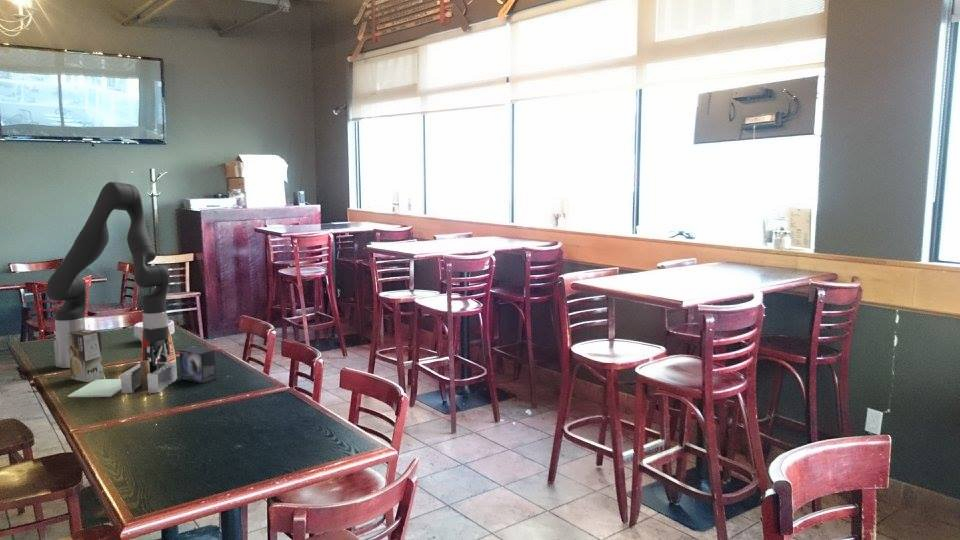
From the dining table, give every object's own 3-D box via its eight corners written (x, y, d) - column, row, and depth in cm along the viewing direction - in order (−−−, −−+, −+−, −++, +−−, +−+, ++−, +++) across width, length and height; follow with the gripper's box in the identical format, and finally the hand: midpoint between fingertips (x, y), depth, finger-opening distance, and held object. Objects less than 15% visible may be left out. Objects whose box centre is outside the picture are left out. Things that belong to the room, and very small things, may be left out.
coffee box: (105, 377, 238) (101, 331, 236) (86, 382, 232) (83, 335, 230) (88, 374, 242) (84, 328, 240) (69, 379, 236) (66, 332, 234)
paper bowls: (126, 344, 287) (124, 325, 286) (153, 336, 301) (152, 318, 300) (156, 346, 282) (155, 327, 281) (183, 338, 297) (182, 320, 296)
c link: (142, 379, 235) (141, 362, 235) (177, 379, 236) (176, 361, 235) (121, 393, 221) (120, 374, 220) (158, 392, 221) (157, 374, 220)
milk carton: (176, 361, 260) (173, 307, 257) (162, 367, 251) (159, 312, 248) (152, 360, 261) (149, 307, 258) (138, 367, 251) (134, 312, 249)
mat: (67, 397, 216) (67, 395, 216) (96, 380, 234) (96, 379, 234) (110, 396, 217) (110, 395, 217) (136, 380, 235) (136, 378, 235)
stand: (140, 389, 224) (138, 362, 223) (144, 387, 226) (142, 360, 225) (148, 389, 224) (147, 362, 223) (152, 387, 227) (150, 360, 225)
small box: (179, 379, 235) (177, 349, 234) (195, 375, 241) (193, 345, 240) (201, 384, 230) (200, 352, 229) (217, 379, 236) (215, 348, 235)
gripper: (153, 321, 239) (156, 367, 241) (134, 330, 225) (138, 379, 227) (175, 320, 240) (178, 367, 242) (158, 329, 225) (161, 378, 227)
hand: (158, 372), depth 234 cm, fingers open, 8 cm apart
